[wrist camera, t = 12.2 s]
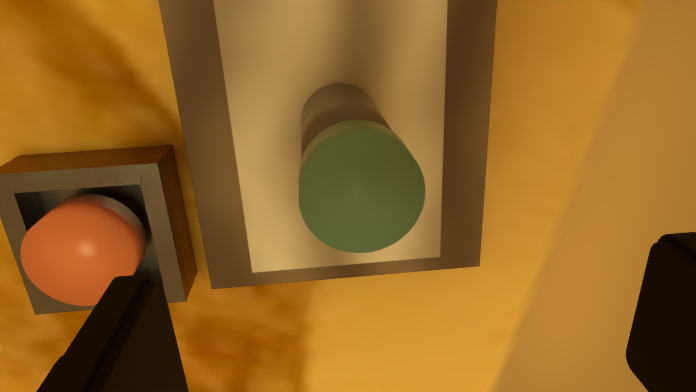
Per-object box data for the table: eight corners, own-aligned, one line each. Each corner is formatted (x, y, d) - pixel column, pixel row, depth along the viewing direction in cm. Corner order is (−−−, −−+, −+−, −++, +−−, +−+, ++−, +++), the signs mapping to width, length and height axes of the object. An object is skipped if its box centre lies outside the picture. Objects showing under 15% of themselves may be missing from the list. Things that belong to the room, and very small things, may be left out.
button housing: (172, 145, 26) (157, 163, 24) (197, 272, 30) (186, 301, 27) (19, 155, 26) (-15, 175, 23) (60, 283, 29) (35, 314, 26)
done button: (135, 190, 25) (119, 209, 22) (155, 275, 27) (142, 301, 24) (32, 197, 24) (5, 218, 22) (60, 283, 26) (38, 310, 24)
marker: (379, 78, 25) (426, 130, 15) (380, 158, 26) (424, 247, 17) (295, 83, 24) (292, 139, 15) (301, 163, 26) (303, 257, 17)
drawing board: (493, -92, 23) (505, -97, 22) (473, 256, 31) (480, 267, 30) (151, -77, 22) (142, -81, 21) (215, 278, 30) (211, 291, 29)
